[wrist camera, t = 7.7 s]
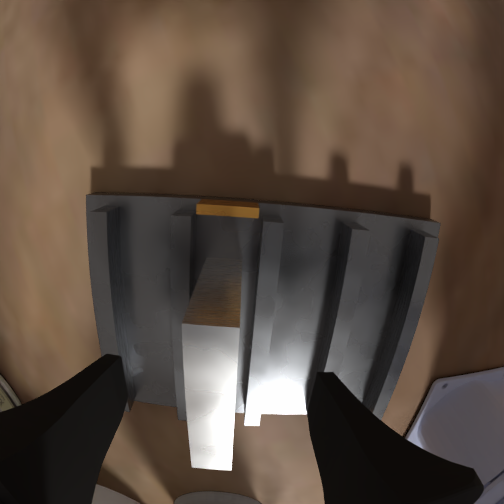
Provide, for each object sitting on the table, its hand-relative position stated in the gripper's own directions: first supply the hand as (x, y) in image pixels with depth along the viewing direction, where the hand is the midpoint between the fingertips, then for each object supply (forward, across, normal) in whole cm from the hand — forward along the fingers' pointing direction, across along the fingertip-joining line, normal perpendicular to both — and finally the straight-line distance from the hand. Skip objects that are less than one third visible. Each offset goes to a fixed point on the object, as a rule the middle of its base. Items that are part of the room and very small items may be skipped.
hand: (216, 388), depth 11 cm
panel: (+5, 0, 0) cm, 5 cm away
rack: (+6, -2, 0) cm, 6 cm away
